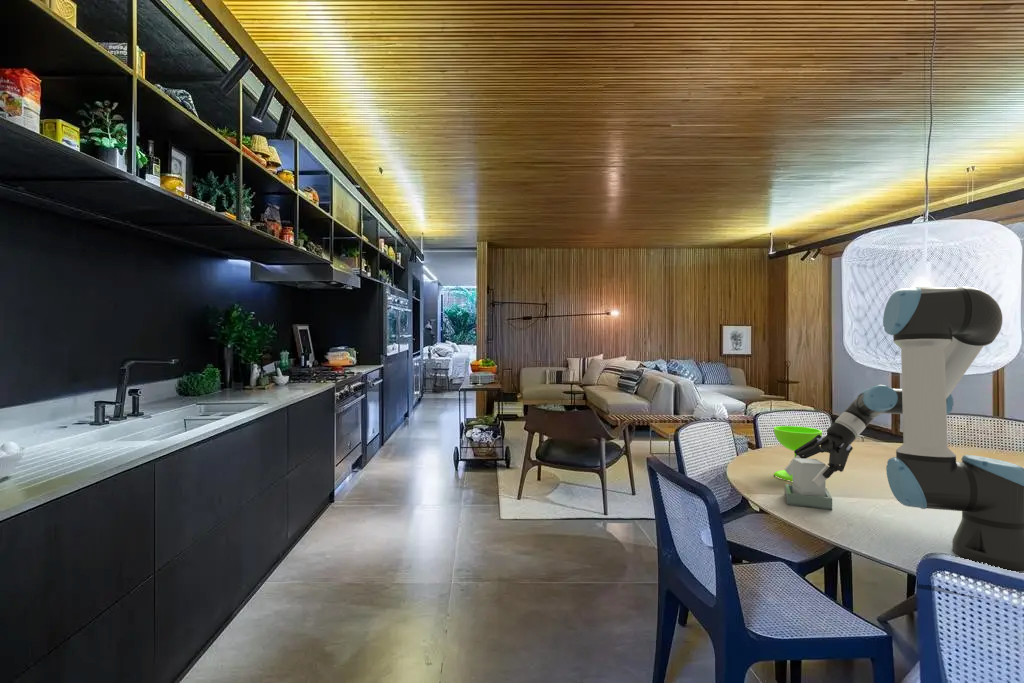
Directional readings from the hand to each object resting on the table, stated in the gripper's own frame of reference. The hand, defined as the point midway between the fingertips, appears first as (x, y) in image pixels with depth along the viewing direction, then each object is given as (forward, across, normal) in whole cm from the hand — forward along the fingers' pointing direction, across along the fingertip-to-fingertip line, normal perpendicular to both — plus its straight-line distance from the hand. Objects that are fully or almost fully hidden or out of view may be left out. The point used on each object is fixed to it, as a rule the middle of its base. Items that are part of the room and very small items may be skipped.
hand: (800, 478), depth 167 cm
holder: (+4, 0, -7) cm, 8 cm away
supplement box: (+3, 0, -7) cm, 8 cm away
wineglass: (-7, +28, -18) cm, 34 cm away
